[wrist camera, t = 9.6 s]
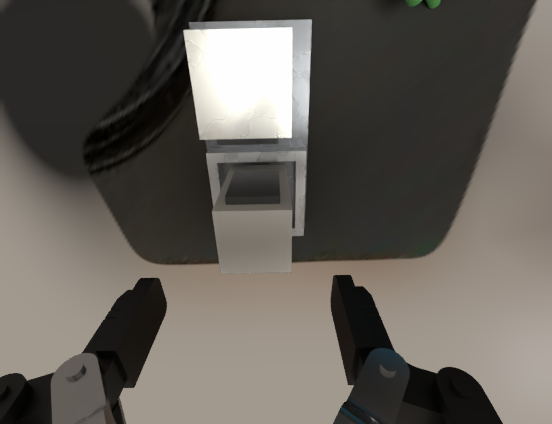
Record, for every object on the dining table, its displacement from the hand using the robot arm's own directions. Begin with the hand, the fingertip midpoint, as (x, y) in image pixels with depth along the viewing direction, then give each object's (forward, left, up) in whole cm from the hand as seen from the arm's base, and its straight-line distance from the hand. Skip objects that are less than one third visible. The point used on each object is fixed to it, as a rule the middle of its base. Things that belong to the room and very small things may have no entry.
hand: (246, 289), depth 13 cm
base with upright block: (-4, 0, -13) cm, 14 cm away
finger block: (0, 0, -12) cm, 12 cm away
